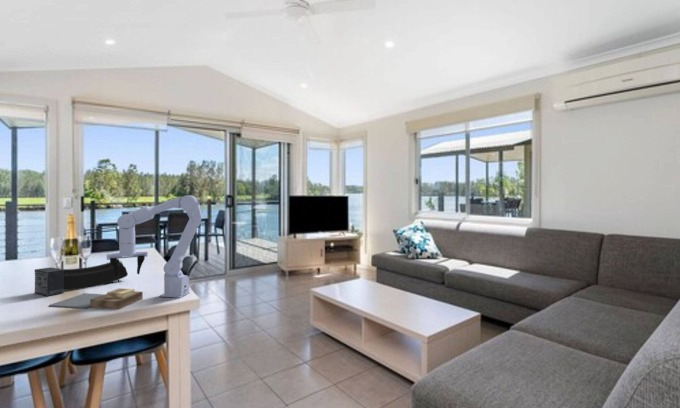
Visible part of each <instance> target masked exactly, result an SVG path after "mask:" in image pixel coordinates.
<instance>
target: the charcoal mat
mask: <svg viewBox="0 0 680 408" xmlns="http://www.w3.org/2000/svg"><path fill="white" fill-rule="evenodd" d="M105 294H106V293H105ZM105 294H104V293H103V294H102V293H87V292H86V293H81V294H78V295H75V296H72V297H69V298H66V299H63V300H59V301H57V302H53V303H50V304H49V305H48V307H54V308H55V307H56V308H57V307H58V308H69V309H70V308H71V309H89V308H91V307H90V300H91V299H94V298H96V297H99V296H102V295H105Z"/></svg>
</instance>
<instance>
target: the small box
mask: <svg viewBox="0 0 680 408" xmlns="http://www.w3.org/2000/svg"><path fill="white" fill-rule="evenodd" d="M57 268H58V267H44V268H36V269H34V294H36V295H41V296H45V297H51V296H54V295H60V294H64V293H65V290H64V270H63V269H64V268H59V269H57Z"/></svg>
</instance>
